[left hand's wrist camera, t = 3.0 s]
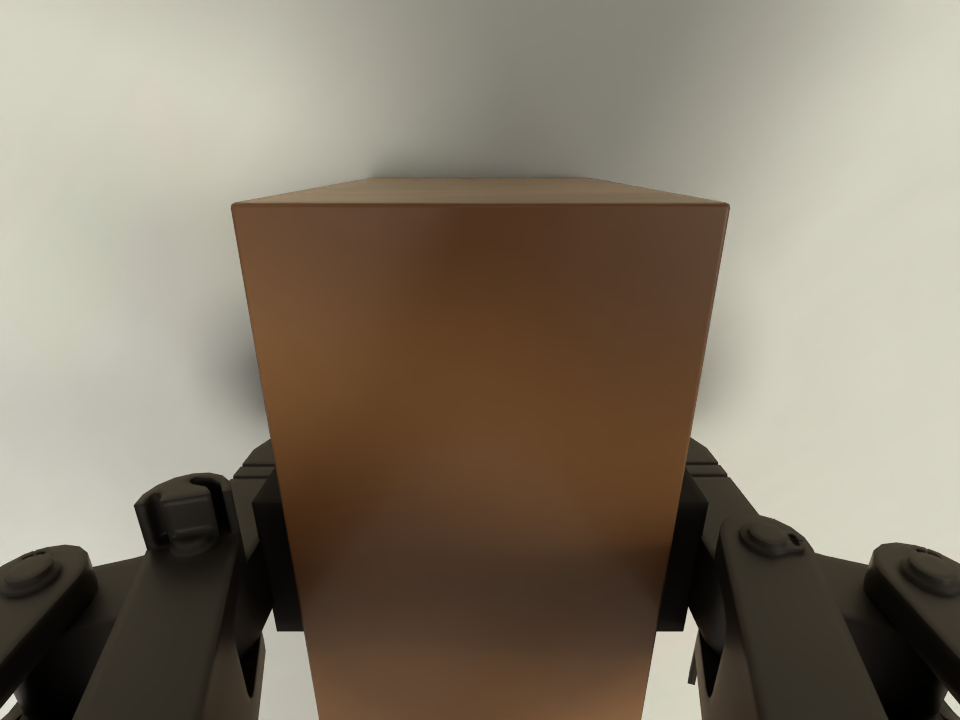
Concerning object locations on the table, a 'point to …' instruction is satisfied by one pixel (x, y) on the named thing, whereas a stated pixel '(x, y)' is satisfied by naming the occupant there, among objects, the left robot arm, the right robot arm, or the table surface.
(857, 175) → the table surface
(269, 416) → the bar
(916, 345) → the table surface
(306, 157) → the table surface
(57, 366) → the table surface
